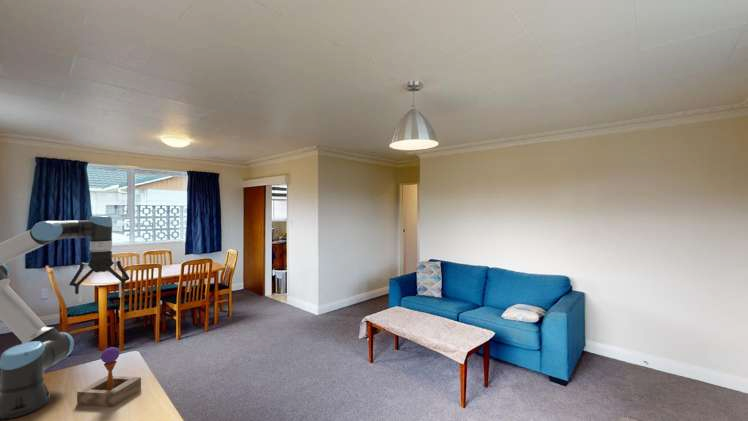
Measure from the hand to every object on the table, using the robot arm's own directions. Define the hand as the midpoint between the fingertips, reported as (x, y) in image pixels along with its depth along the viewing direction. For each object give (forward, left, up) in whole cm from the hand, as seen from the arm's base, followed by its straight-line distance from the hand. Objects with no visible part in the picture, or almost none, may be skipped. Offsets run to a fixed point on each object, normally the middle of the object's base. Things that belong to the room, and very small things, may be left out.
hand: (100, 299), depth 144 cm
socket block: (+12, -7, -38) cm, 41 cm away
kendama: (+12, -7, -38) cm, 41 cm away
